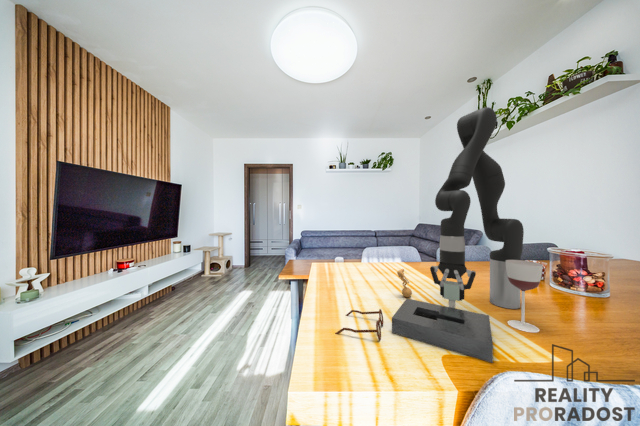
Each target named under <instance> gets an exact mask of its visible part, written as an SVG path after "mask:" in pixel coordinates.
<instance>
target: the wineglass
mask: <svg viewBox="0 0 640 426" xmlns="http://www.w3.org/2000/svg"><path fill="white" fill-rule="evenodd" d="M506 272H507V276H508V280H509V282H510V283H511V284H512V285H514V286H515V287H517V288H519V289H520V292H521V301H520V309H521V313H520V315H521V320H515V319H513V320H511V319H510V320H508V321H507V324H508V325H509V326H510V327H512V328H514V329H515V330H520V331H523V332H527V333H539V332H540V328H539V327H537V326H536V325H534V324H531V323H529V322H526V320H525V319H526V318H525V317H526V314H525V312H526V309H525V308H526V307H525V306H526V300H525V299H526V292H527V291H531V290H535V289H537V288H538V287H539V285H540V283H541V280H542V276H543V264H542V263H539V262H534V261H530V260H529V261H528V260H522V259H521V260H506Z"/></svg>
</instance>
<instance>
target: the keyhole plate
mask: <svg viewBox="0 0 640 426" xmlns="http://www.w3.org/2000/svg"><path fill="white" fill-rule="evenodd" d="M490 320H491V319H490V315H489V314H484V313H478V312H474V311H469V310H465V309H460V308H456V307H455V308H451V307H449V306H445V305H440V304H436V303H431V302H426V301H422V300H421V301H420V300H417V299H411V298H406V299H405V300H404V301H403V303H401V305H400V306H399V308H398V309H397V310H396V312H395V313H394V314H393V315H392V316H391V333H393V334H395V335H399V336H401V337H405V338H409V339H411V340H415V341H418V342H420V343H421V342H422V343H425V344H428V345H432V346H435V347H438V348H441V349H445V350H448V351H452V352H455V353H458V354H461V355H465V356H468V357H471V358H473V359H478V360H481V361H485V362H488V363H491V364H493V363H494V362H493V359H494V353H493V352H494V344H493V337H492V328H491V322H490Z"/></svg>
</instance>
